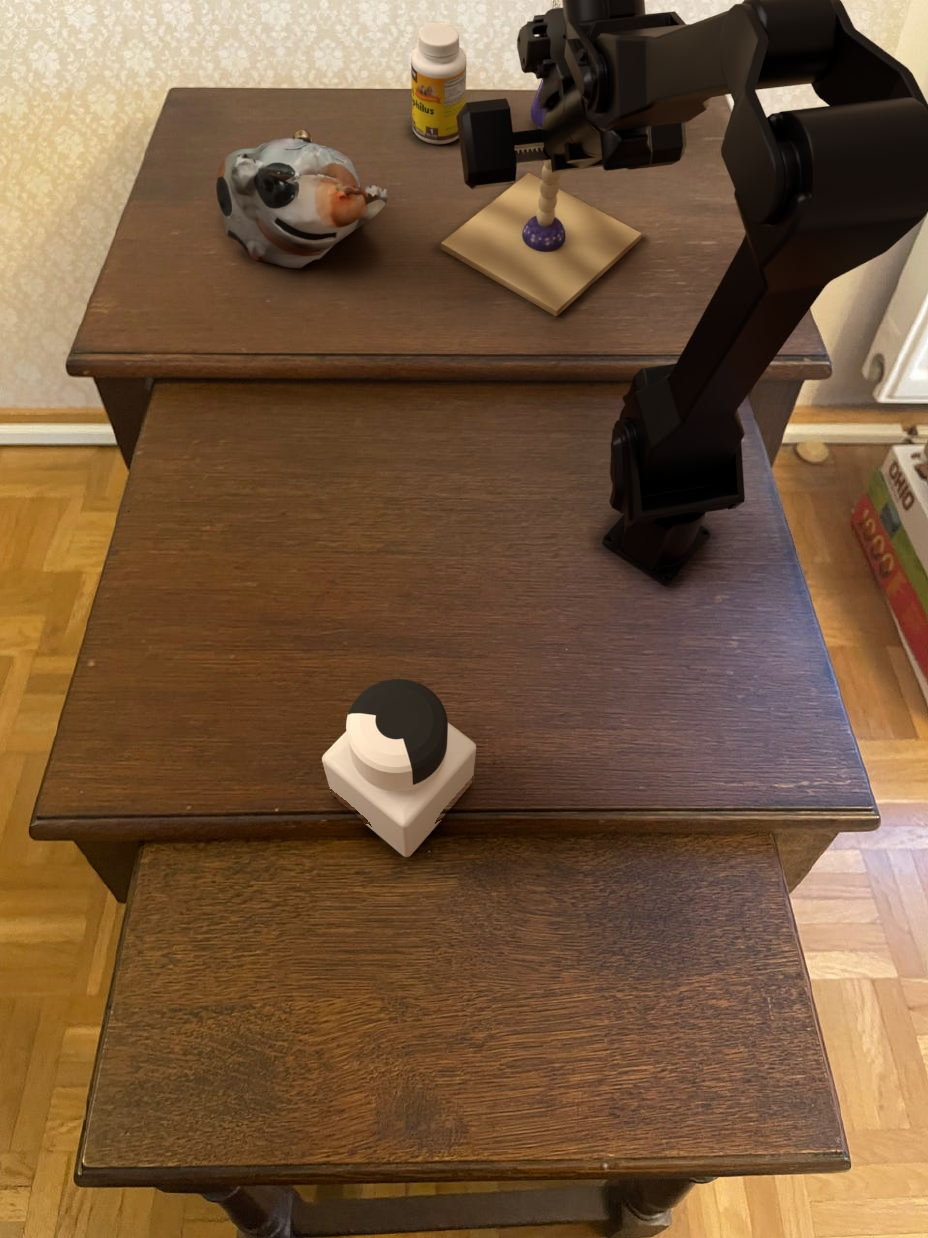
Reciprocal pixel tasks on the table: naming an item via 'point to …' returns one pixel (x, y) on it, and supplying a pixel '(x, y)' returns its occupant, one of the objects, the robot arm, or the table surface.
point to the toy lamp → (544, 201)
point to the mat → (535, 274)
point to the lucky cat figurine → (293, 199)
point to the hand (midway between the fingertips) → (546, 154)
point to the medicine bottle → (399, 761)
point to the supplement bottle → (437, 83)
